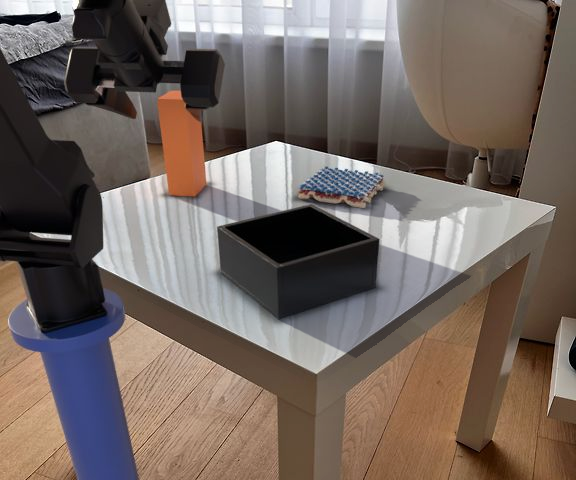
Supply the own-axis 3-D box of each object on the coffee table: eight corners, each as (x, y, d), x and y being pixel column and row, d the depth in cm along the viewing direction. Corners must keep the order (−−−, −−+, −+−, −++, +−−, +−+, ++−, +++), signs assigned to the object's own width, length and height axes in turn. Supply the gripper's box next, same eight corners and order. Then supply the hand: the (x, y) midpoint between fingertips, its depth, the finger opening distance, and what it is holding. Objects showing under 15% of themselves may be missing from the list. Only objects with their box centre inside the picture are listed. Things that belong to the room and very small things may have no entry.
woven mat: (294, 199, 87) (294, 185, 86) (322, 178, 95) (322, 164, 94) (364, 210, 84) (365, 195, 83) (387, 186, 92) (388, 172, 91)
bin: (278, 319, 60) (277, 267, 57) (220, 273, 68) (216, 226, 65) (375, 287, 65) (379, 238, 62) (311, 248, 74) (311, 203, 70)
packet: (195, 196, 89) (185, 99, 81) (168, 195, 90) (156, 98, 82) (206, 184, 93) (198, 91, 86) (181, 183, 94) (171, 90, 86)
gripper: (213, -35, 66) (244, 63, 81) (53, -34, 69) (112, 60, 84) (197, 60, 64) (232, 141, 79) (34, 56, 67) (98, 135, 82)
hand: (167, 117), depth 81 cm, fingers open, 9 cm apart
